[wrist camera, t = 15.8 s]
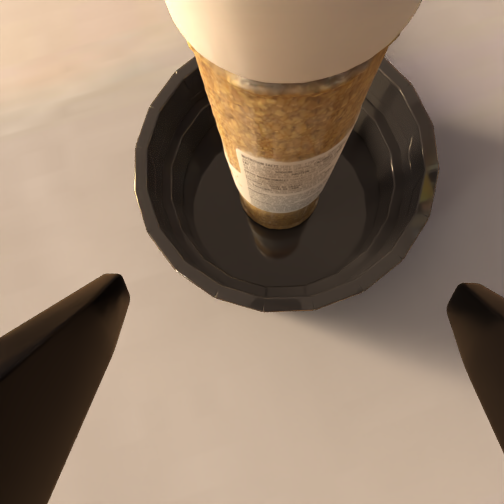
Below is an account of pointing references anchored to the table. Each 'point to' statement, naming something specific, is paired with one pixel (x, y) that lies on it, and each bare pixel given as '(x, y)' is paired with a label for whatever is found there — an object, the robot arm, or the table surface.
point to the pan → (309, 231)
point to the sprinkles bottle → (287, 88)
